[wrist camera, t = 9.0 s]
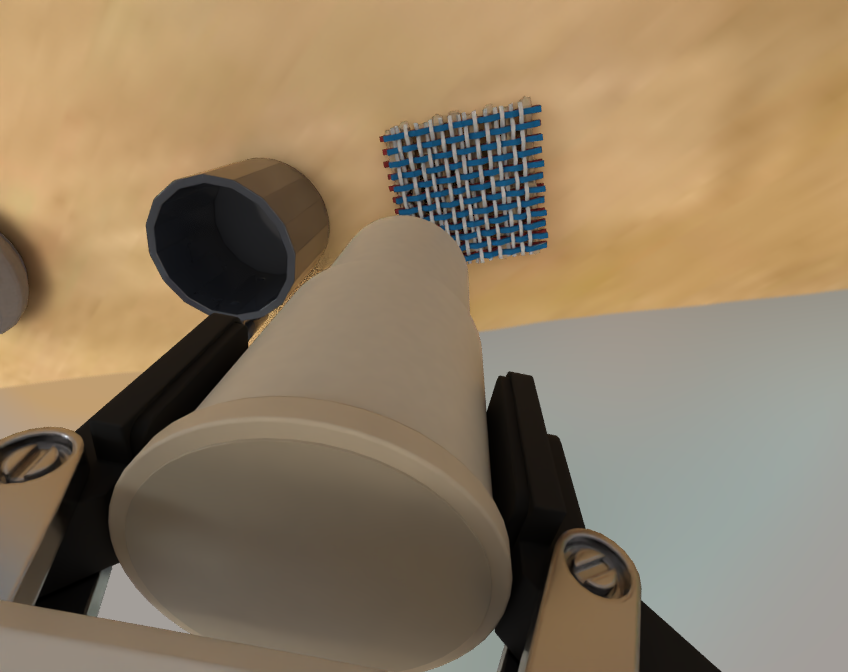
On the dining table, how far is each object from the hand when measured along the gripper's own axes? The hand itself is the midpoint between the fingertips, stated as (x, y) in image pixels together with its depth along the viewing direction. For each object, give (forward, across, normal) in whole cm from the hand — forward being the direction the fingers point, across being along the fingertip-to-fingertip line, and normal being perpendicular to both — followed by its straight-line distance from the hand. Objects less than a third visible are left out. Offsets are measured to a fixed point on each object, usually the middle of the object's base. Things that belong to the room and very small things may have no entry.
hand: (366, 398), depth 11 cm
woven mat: (+25, -2, -1) cm, 25 cm away
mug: (+24, +12, +6) cm, 28 cm away
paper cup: (+8, 0, 0) cm, 8 cm away
